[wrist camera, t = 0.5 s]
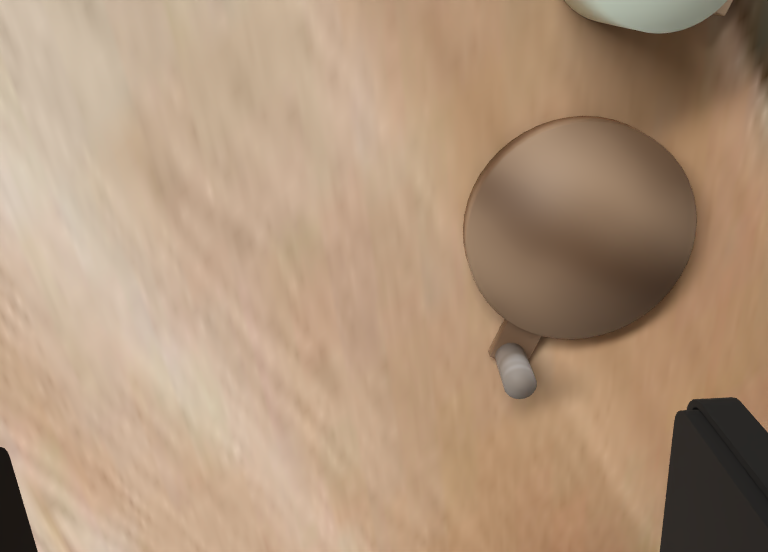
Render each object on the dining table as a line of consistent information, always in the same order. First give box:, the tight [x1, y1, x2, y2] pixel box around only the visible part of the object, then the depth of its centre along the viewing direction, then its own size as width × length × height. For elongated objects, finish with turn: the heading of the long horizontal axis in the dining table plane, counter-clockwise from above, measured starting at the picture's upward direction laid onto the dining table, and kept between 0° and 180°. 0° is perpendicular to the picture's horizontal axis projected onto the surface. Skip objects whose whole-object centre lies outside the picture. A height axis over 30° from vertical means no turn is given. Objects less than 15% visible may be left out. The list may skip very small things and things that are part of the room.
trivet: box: [463, 116, 697, 399], centre depth 35 cm, size 14×11×4 cm
